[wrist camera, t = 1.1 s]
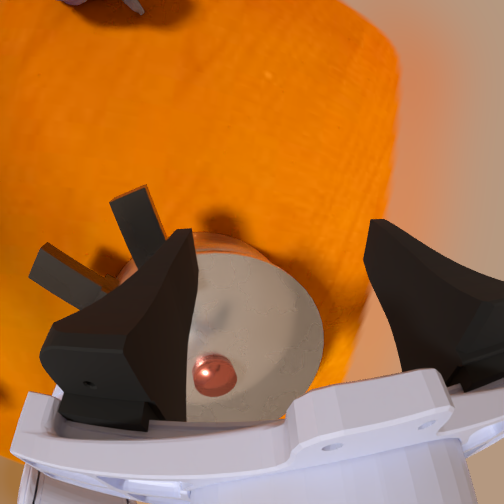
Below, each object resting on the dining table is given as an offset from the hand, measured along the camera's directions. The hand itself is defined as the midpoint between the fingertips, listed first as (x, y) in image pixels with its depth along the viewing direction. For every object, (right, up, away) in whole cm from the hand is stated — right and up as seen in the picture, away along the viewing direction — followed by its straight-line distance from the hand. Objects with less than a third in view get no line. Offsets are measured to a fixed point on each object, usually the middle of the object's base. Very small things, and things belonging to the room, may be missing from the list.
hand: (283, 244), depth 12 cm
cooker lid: (-5, -7, +9) cm, 12 cm away
